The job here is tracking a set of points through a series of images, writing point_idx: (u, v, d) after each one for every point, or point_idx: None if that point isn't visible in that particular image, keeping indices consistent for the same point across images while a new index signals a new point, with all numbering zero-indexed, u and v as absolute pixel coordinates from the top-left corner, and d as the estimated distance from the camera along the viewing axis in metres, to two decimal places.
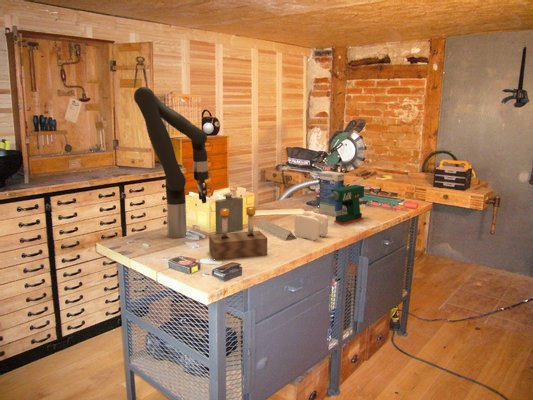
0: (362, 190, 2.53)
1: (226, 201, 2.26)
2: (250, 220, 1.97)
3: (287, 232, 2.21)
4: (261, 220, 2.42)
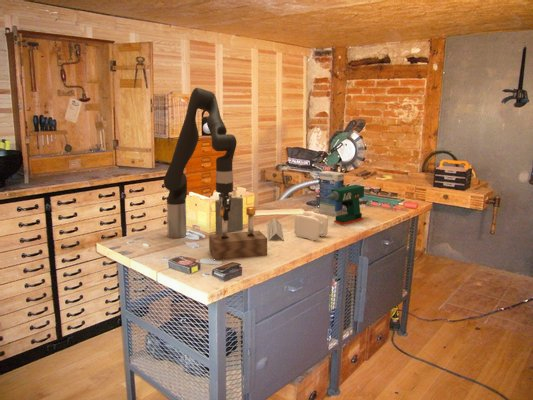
0: (362, 190, 2.53)
1: None
2: (250, 220, 1.97)
3: (274, 233, 2.19)
4: (273, 219, 2.44)
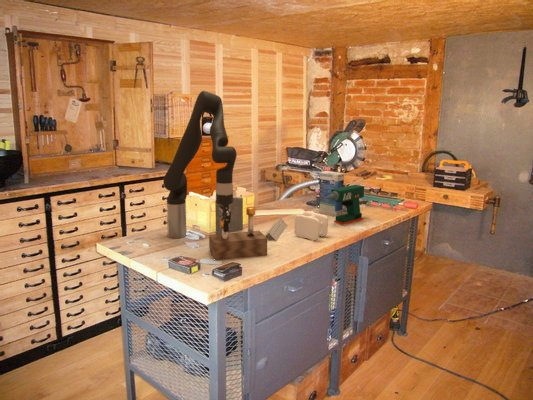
0: (362, 190, 2.53)
1: None
2: (250, 220, 1.97)
3: (268, 232, 2.20)
4: None
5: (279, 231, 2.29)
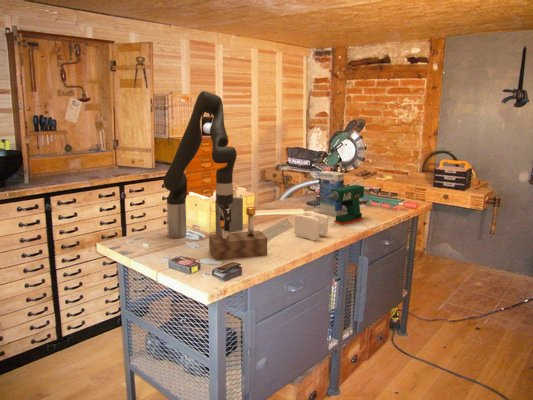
0: (362, 190, 2.53)
1: None
2: (250, 220, 1.97)
3: None
4: None
5: None
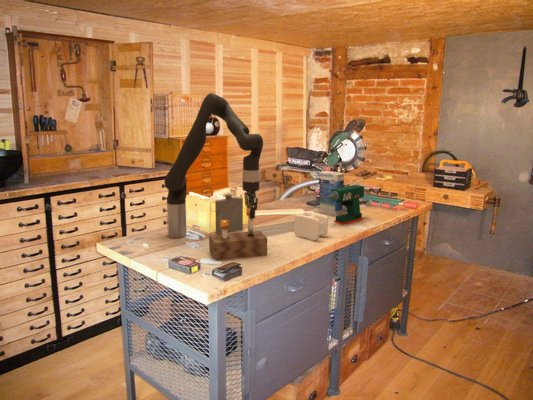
0: (362, 190, 2.53)
1: (226, 201, 2.26)
2: (250, 220, 1.97)
3: None
4: None
5: (274, 231, 2.29)
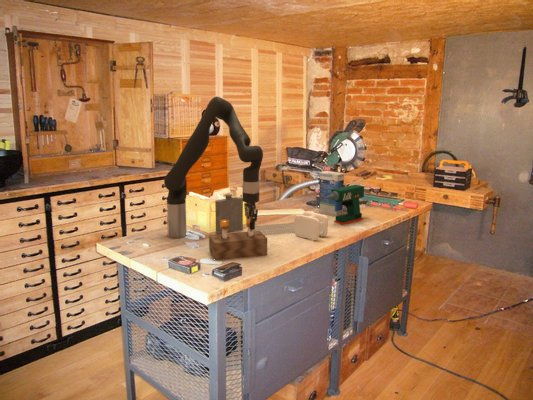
0: (362, 190, 2.53)
1: (226, 201, 2.26)
2: (250, 231, 1.98)
3: None
4: None
5: (273, 231, 2.29)
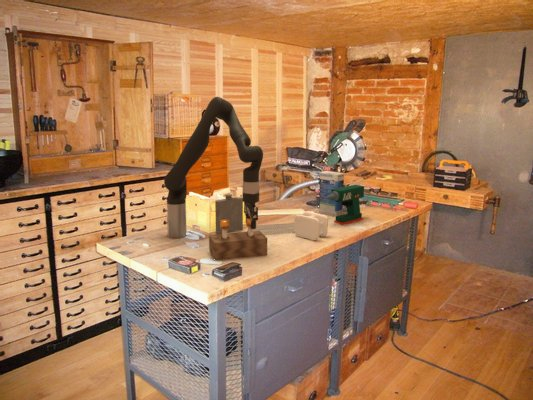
0: (362, 190, 2.53)
1: (226, 201, 2.26)
2: (250, 231, 1.98)
3: None
4: None
5: (273, 231, 2.29)
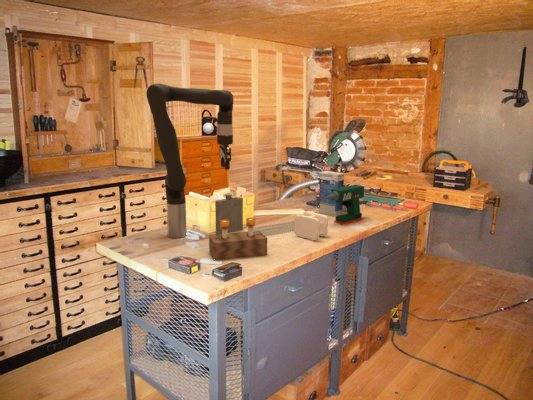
0: (362, 190, 2.53)
1: (226, 201, 2.26)
2: (250, 231, 1.98)
3: None
4: None
5: (274, 231, 2.29)
